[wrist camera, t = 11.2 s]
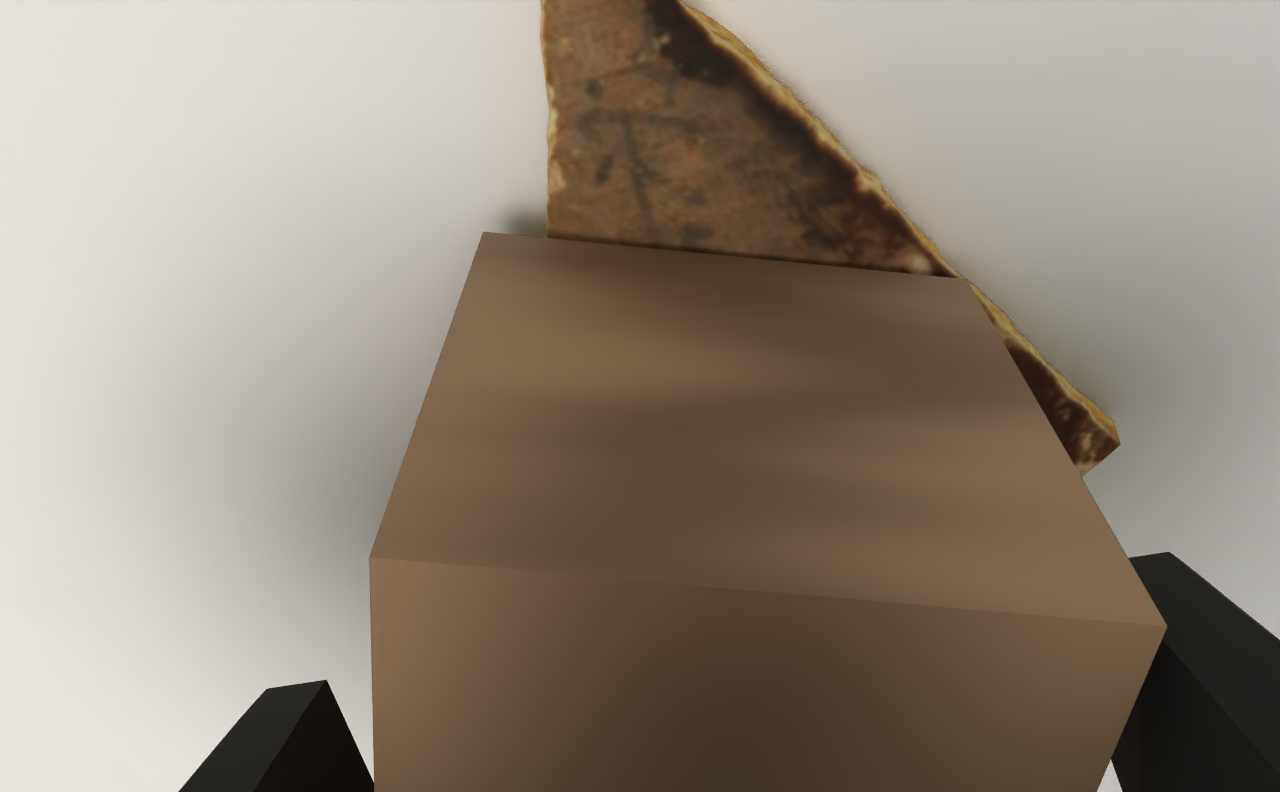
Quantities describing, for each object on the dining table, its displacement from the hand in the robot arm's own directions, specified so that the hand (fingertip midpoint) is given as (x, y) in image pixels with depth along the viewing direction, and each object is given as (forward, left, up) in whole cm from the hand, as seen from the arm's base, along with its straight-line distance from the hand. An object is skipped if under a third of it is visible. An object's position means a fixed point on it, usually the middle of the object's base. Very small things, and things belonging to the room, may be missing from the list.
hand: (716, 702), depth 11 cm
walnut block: (0, 0, -4) cm, 4 cm away
